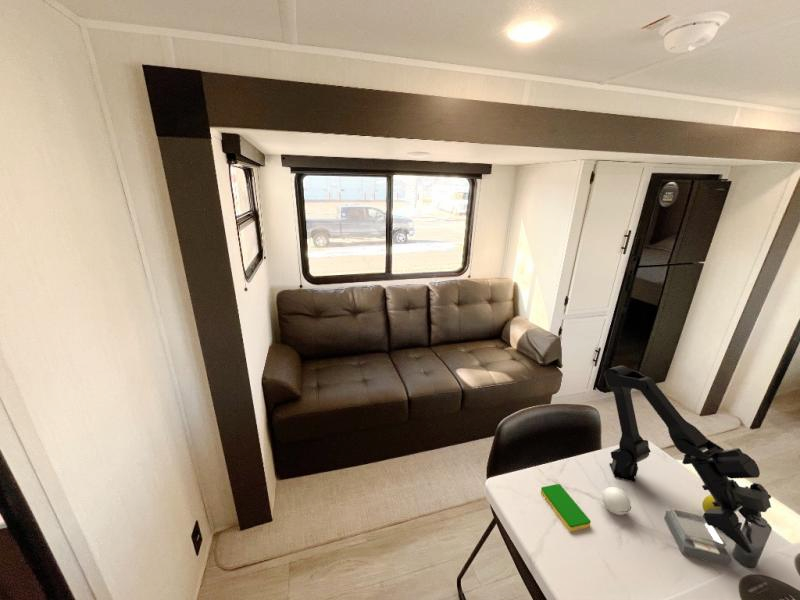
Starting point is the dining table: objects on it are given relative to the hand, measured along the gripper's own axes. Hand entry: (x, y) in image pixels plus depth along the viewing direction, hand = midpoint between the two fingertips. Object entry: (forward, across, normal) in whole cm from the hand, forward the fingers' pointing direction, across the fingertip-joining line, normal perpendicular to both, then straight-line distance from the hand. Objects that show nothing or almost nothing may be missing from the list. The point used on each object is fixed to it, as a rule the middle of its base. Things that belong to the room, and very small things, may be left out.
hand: (758, 544), depth 82 cm
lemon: (-3, +8, +13) cm, 15 cm away
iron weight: (+4, 0, +6) cm, 7 cm away
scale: (-2, -6, +12) cm, 13 cm away
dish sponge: (-17, -31, +28) cm, 45 cm away
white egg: (-12, -16, +22) cm, 30 cm away
